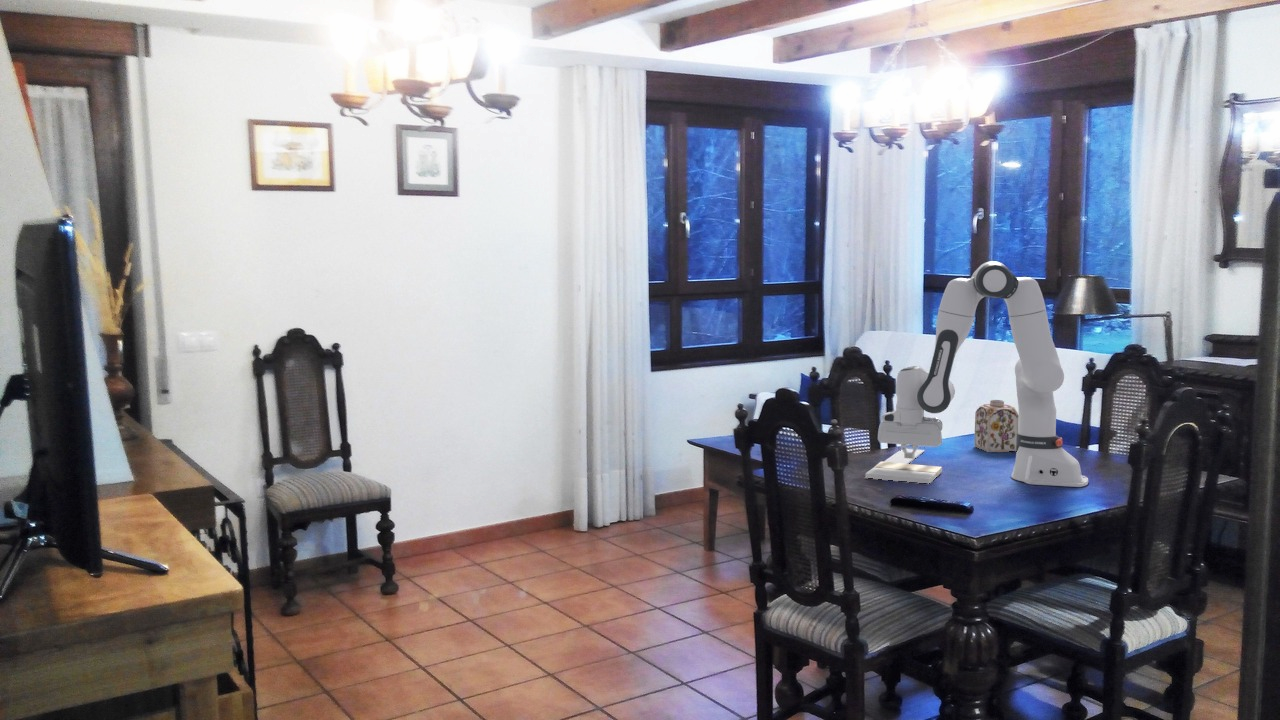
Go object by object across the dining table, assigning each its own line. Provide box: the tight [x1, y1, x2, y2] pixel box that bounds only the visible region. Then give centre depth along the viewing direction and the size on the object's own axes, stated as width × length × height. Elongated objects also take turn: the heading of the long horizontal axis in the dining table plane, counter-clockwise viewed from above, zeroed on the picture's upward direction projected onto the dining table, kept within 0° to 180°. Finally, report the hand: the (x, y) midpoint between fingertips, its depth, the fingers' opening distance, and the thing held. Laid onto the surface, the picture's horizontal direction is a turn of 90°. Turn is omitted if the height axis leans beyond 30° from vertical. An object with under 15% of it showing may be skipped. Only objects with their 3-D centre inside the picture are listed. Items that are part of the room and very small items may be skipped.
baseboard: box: [883, 445, 926, 464], centre depth 359 cm, size 30×3×10 cm
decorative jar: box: [973, 399, 1019, 453], centre depth 373 cm, size 12×12×18 cm
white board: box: [864, 467, 937, 485], centre depth 328 cm, size 20×10×2 cm, turn 62°
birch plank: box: [873, 461, 943, 477], centre depth 336 cm, size 20×8×2 cm, turn 62°
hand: (909, 458), depth 336 cm, fingers closed
